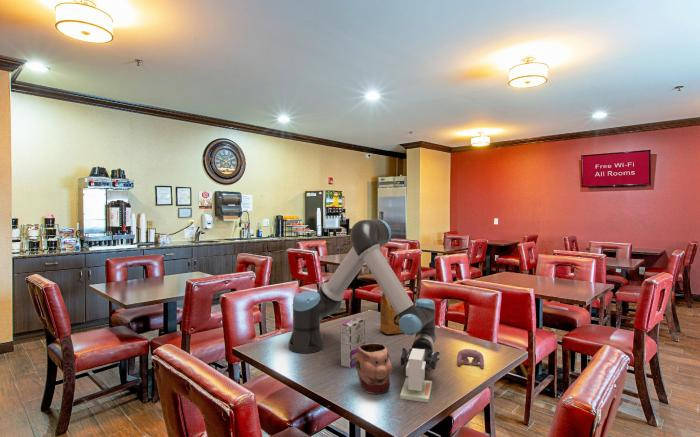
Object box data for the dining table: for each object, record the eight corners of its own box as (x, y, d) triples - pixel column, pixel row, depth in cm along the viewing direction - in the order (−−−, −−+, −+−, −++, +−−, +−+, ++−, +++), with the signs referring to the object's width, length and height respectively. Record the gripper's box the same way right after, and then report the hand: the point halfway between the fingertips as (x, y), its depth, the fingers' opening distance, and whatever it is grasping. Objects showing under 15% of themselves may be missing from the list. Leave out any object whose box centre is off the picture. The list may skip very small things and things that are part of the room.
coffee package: (409, 334, 187) (410, 288, 187) (385, 336, 184) (386, 290, 183) (401, 328, 197) (401, 284, 196) (378, 330, 193) (378, 286, 193)
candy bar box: (354, 356, 160) (354, 316, 159) (365, 359, 157) (365, 318, 157) (339, 365, 150) (339, 323, 150) (350, 368, 148) (350, 325, 147)
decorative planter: (345, 377, 140) (345, 339, 140) (375, 371, 145) (375, 334, 145) (369, 403, 122) (369, 359, 121) (402, 395, 127) (403, 353, 126)
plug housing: (421, 391, 124) (421, 360, 124) (408, 389, 126) (408, 358, 125) (424, 378, 134) (424, 349, 133) (412, 376, 135) (412, 348, 135)
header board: (400, 398, 125) (400, 379, 125) (406, 381, 137) (406, 363, 137) (428, 402, 122) (428, 383, 122) (432, 384, 135) (432, 366, 134)
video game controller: (483, 370, 150) (483, 351, 153) (483, 369, 146) (483, 349, 149) (457, 367, 153) (457, 348, 156) (456, 365, 149) (457, 346, 152)
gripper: (446, 359, 144) (442, 387, 122) (399, 354, 149) (388, 380, 127) (446, 339, 144) (442, 364, 122) (399, 335, 149) (388, 357, 127)
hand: (414, 372), depth 124 cm, fingers closed on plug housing, 4 cm apart
